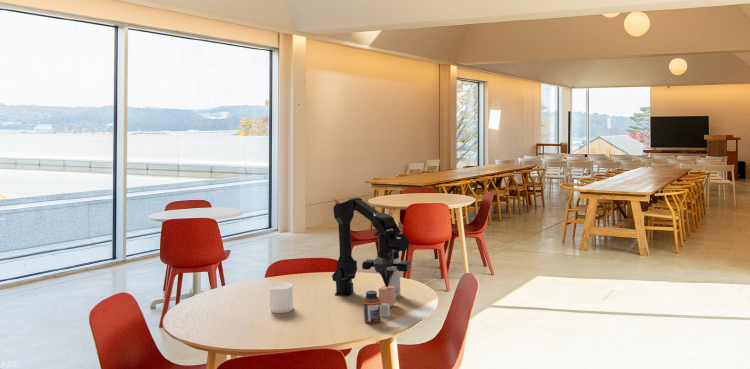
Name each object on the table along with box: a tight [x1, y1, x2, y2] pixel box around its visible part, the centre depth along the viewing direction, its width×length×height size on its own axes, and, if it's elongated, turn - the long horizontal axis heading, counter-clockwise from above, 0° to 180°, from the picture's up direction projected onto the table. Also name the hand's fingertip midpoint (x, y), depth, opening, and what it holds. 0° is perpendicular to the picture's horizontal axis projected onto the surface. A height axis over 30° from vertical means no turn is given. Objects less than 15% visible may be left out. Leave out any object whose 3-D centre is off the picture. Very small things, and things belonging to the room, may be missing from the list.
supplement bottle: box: [363, 289, 381, 325], centre depth 213 cm, size 6×6×11 cm
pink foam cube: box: [378, 285, 397, 308], centre depth 230 cm, size 5×5×7 cm
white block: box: [380, 303, 391, 318], centre depth 219 cm, size 3×3×4 cm
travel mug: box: [387, 250, 401, 299], centre depth 242 cm, size 6×7×20 cm
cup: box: [268, 282, 294, 314], centre depth 231 cm, size 10×10×10 cm
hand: (387, 286), depth 229 cm, fingers closed
